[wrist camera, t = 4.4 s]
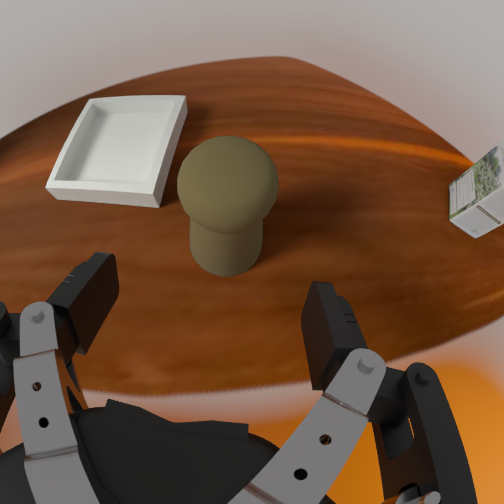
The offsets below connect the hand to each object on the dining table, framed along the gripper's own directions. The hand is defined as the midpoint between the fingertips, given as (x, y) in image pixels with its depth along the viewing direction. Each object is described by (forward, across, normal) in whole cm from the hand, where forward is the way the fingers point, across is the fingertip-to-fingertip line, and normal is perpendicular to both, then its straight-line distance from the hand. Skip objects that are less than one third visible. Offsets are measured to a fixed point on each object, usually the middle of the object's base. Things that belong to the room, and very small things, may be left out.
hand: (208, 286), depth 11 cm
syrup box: (+18, -28, -2) cm, 33 cm away
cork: (+12, 0, +4) cm, 13 cm away
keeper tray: (+17, +12, -2) cm, 21 cm away
